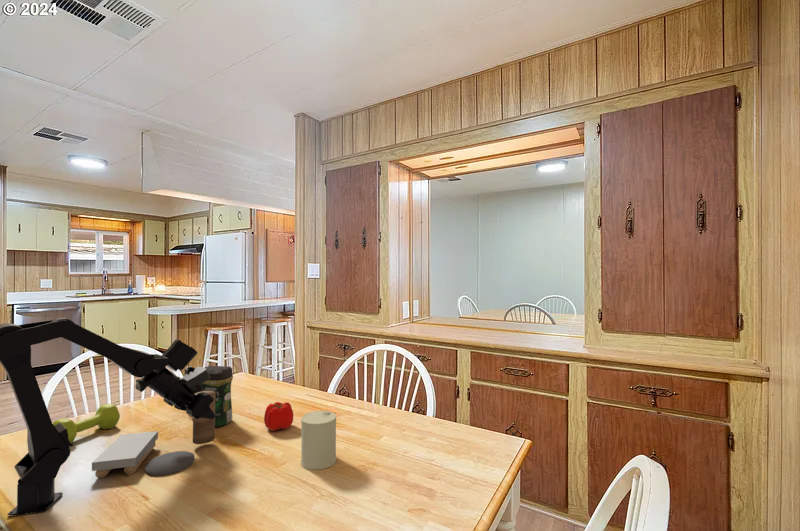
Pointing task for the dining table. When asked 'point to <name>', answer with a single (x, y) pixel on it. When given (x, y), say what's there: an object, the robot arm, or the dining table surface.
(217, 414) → the coffee jar
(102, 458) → the grey slab
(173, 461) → the dark grey flat disc
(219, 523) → the dining table surface
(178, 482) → the dining table surface
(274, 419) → the tomato
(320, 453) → the can
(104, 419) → the dumbbell
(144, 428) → the dining table surface
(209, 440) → the walnut roller
